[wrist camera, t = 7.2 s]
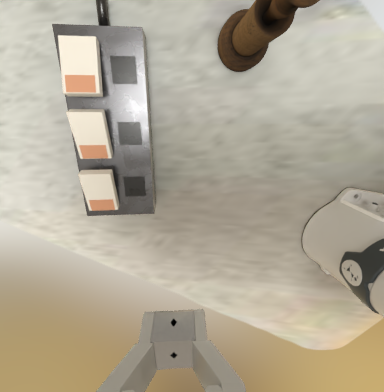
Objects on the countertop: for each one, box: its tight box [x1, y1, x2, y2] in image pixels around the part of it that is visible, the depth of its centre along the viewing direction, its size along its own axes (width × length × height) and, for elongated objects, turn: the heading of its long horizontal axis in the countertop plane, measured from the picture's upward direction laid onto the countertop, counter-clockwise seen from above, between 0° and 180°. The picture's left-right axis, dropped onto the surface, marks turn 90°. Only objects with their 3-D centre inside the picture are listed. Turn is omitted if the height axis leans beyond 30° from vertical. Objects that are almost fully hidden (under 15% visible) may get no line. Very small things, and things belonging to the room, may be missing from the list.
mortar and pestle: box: [218, 0, 319, 72], centre depth 23 cm, size 7×6×18 cm
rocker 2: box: [78, 169, 119, 211], centre depth 31 cm, size 4×6×1 cm, turn 0°
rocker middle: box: [66, 109, 113, 159], centre depth 28 cm, size 4×6×1 cm, turn 0°
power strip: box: [52, 0, 156, 216], centre depth 30 cm, size 10×30×5 cm, turn 0°
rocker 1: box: [58, 35, 103, 97], centre depth 25 cm, size 4×6×1 cm, turn 0°
